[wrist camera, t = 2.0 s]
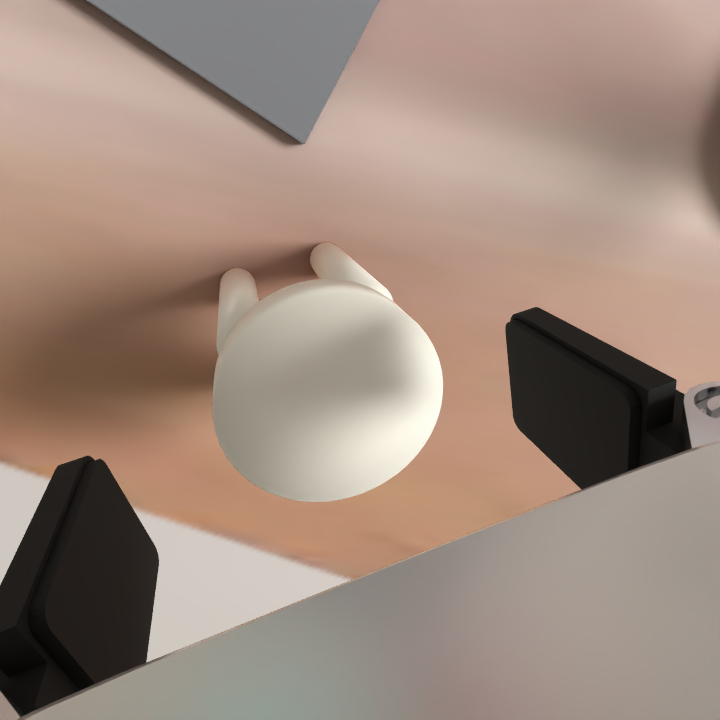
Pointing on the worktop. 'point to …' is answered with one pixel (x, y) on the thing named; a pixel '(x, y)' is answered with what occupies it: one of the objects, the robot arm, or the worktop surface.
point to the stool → (321, 382)
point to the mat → (256, 48)
